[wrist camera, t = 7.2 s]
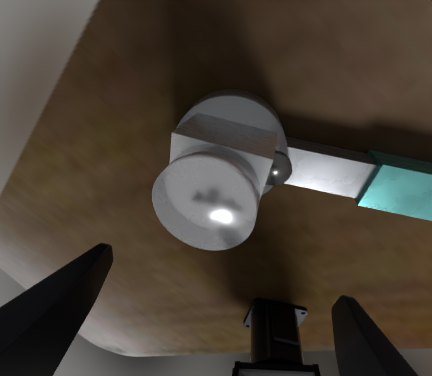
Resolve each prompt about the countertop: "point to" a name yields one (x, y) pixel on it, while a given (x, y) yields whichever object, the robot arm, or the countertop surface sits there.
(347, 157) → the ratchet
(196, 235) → the cylinder with square end
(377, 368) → the robot arm
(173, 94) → the countertop surface
